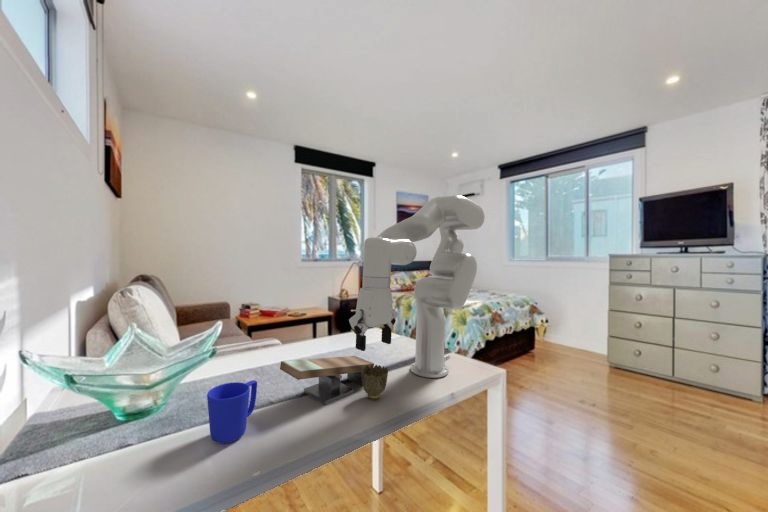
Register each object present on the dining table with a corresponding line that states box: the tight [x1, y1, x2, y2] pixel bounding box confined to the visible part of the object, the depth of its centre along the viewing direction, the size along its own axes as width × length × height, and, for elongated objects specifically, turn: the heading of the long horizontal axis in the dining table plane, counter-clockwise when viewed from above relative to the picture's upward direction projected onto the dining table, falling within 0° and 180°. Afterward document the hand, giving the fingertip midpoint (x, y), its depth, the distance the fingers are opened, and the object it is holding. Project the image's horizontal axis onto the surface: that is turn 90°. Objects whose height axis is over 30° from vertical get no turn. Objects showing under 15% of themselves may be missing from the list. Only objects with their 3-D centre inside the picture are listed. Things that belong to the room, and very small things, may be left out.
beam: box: [279, 355, 375, 380], centre depth 89 cm, size 26×10×3 cm, turn 136°
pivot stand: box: [303, 372, 363, 405], centre depth 92 cm, size 18×10×5 cm, turn 136°
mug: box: [206, 379, 258, 444], centre depth 70 cm, size 8×12×10 cm
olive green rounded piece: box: [361, 364, 389, 401], centre depth 87 cm, size 8×7×8 cm
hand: (373, 346), depth 86 cm, fingers open, 9 cm apart
